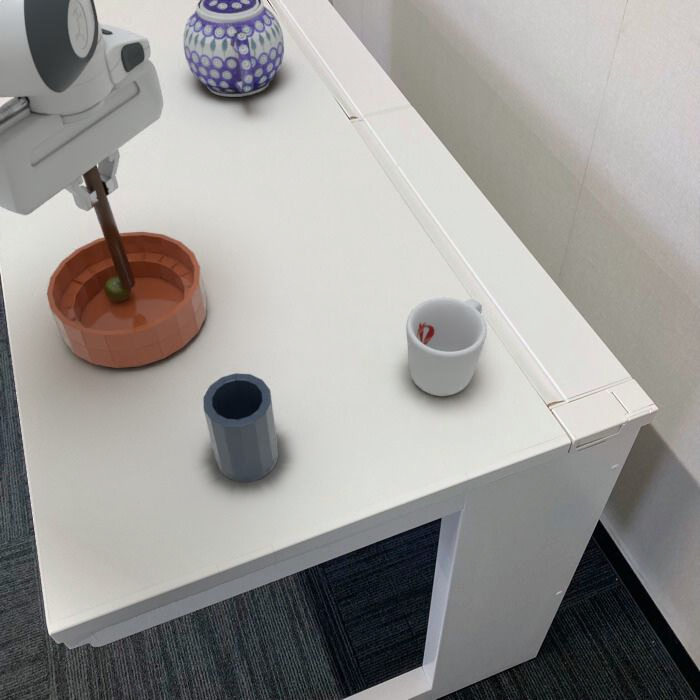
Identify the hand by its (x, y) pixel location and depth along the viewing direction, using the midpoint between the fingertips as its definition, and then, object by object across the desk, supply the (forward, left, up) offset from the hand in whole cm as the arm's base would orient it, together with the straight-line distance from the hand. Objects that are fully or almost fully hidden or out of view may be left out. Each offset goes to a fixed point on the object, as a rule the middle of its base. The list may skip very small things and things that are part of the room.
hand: (98, 198), depth 78 cm
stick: (0, -1, -12) cm, 12 cm away
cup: (+9, -36, -15) cm, 40 cm away
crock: (-11, -24, -15) cm, 30 cm away
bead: (0, +1, -13) cm, 13 cm away
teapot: (+47, +19, -15) cm, 53 cm away
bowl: (-2, -2, -15) cm, 15 cm away
